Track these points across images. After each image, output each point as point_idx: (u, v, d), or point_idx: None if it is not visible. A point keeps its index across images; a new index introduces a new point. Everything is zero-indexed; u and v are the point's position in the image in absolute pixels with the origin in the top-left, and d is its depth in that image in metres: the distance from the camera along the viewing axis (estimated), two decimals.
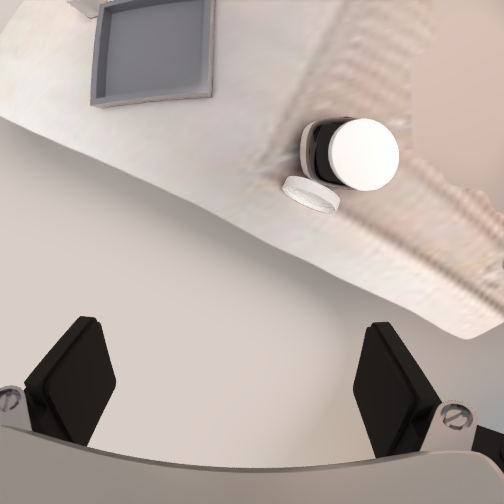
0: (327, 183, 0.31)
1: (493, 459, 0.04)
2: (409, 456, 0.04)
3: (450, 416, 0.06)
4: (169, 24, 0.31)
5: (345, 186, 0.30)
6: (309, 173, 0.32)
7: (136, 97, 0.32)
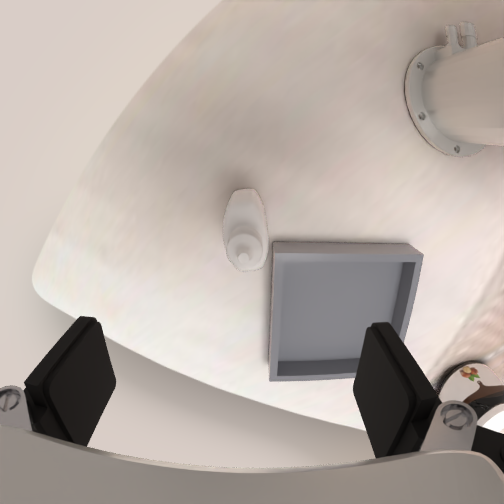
0: None
1: (493, 459, 0.04)
2: (409, 456, 0.04)
3: (450, 416, 0.06)
4: (360, 284, 0.32)
5: None
6: None
7: (326, 378, 0.33)
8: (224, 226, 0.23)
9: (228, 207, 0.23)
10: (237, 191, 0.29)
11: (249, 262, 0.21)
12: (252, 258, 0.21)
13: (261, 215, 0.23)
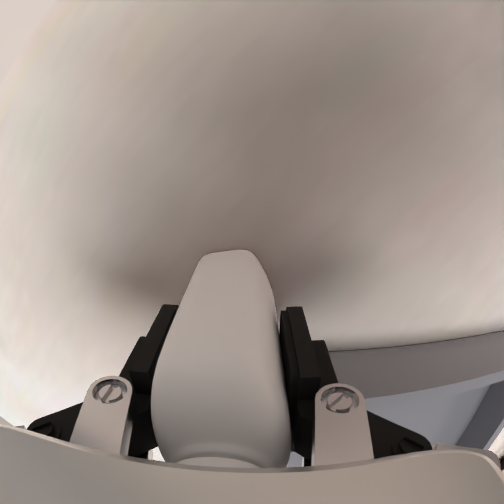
0: None
1: (381, 451, 0.06)
2: (409, 456, 0.04)
3: (332, 401, 0.07)
4: (434, 403, 0.15)
5: None
6: None
7: None
8: (153, 426, 0.06)
9: (158, 376, 0.06)
10: (207, 262, 0.12)
11: None
12: None
13: (273, 401, 0.06)
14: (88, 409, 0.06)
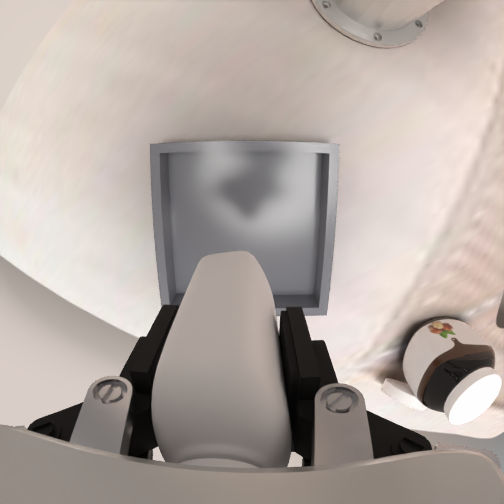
0: (432, 409, 0.27)
1: (381, 451, 0.06)
2: (409, 456, 0.04)
3: (332, 401, 0.07)
4: (266, 190, 0.27)
5: None
6: (417, 397, 0.28)
7: None
8: (154, 427, 0.06)
9: (159, 377, 0.06)
10: (207, 264, 0.12)
11: None
12: None
13: (273, 403, 0.06)
14: (88, 409, 0.06)
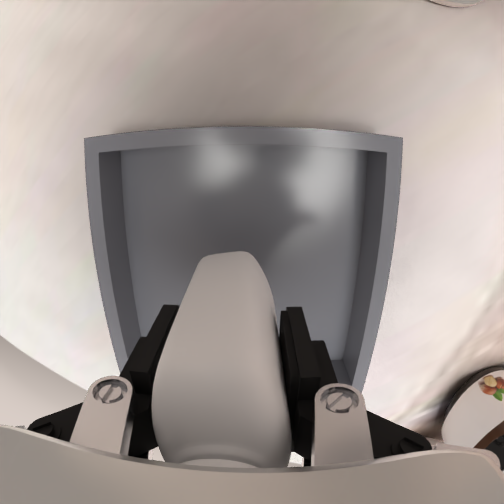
0: None
1: (381, 451, 0.06)
2: (409, 456, 0.04)
3: (332, 401, 0.07)
4: (277, 210, 0.17)
5: None
6: None
7: None
8: (154, 428, 0.06)
9: (159, 378, 0.06)
10: (207, 264, 0.12)
11: None
12: None
13: (273, 403, 0.06)
14: (88, 409, 0.06)
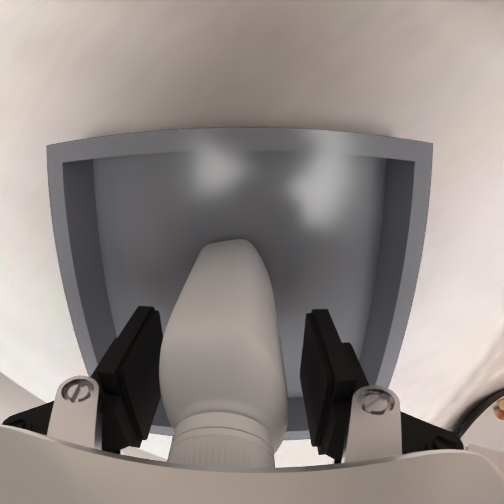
0: None
1: (417, 450, 0.05)
2: (409, 456, 0.04)
3: (369, 402, 0.07)
4: (279, 230, 0.14)
5: None
6: None
7: None
8: (161, 390, 0.07)
9: (166, 340, 0.07)
10: (208, 250, 0.13)
11: None
12: None
13: (269, 361, 0.07)
14: (56, 407, 0.06)
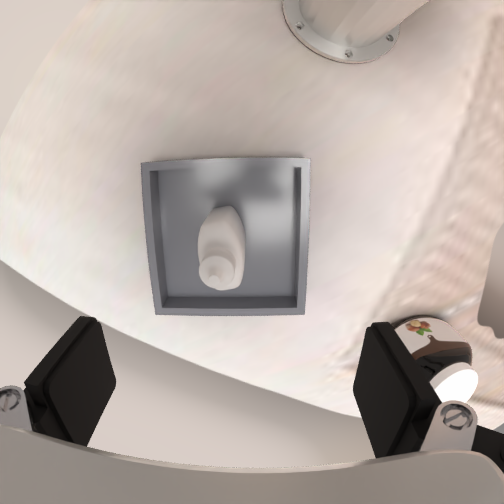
0: None
1: (493, 459, 0.04)
2: (409, 456, 0.04)
3: (450, 416, 0.06)
4: (246, 201, 0.30)
5: None
6: None
7: (217, 314, 0.31)
8: (198, 247, 0.24)
9: (201, 228, 0.24)
10: (214, 210, 0.29)
11: (222, 283, 0.21)
12: (224, 279, 0.21)
13: (234, 235, 0.24)
14: None
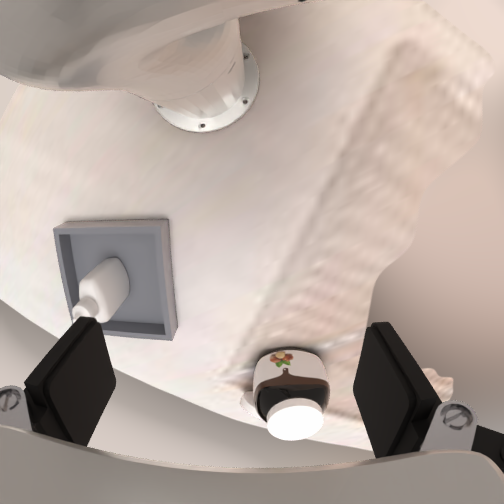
0: None
1: (493, 459, 0.04)
2: (409, 456, 0.04)
3: (450, 416, 0.06)
4: (127, 254, 0.38)
5: None
6: (256, 411, 0.39)
7: (112, 334, 0.39)
8: (79, 295, 0.32)
9: (80, 283, 0.31)
10: (102, 261, 0.37)
11: None
12: None
13: (98, 288, 0.32)
14: None
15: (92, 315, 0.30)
